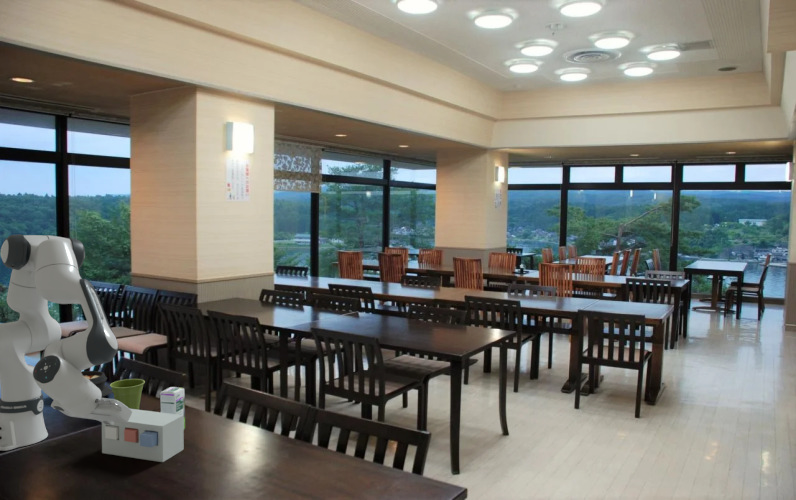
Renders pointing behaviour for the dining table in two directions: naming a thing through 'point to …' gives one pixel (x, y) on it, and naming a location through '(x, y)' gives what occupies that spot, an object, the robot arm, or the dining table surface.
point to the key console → (163, 423)
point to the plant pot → (128, 392)
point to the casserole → (98, 381)
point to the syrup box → (173, 401)
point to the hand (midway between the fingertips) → (110, 422)
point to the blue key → (149, 439)
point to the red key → (131, 435)
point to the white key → (112, 432)
